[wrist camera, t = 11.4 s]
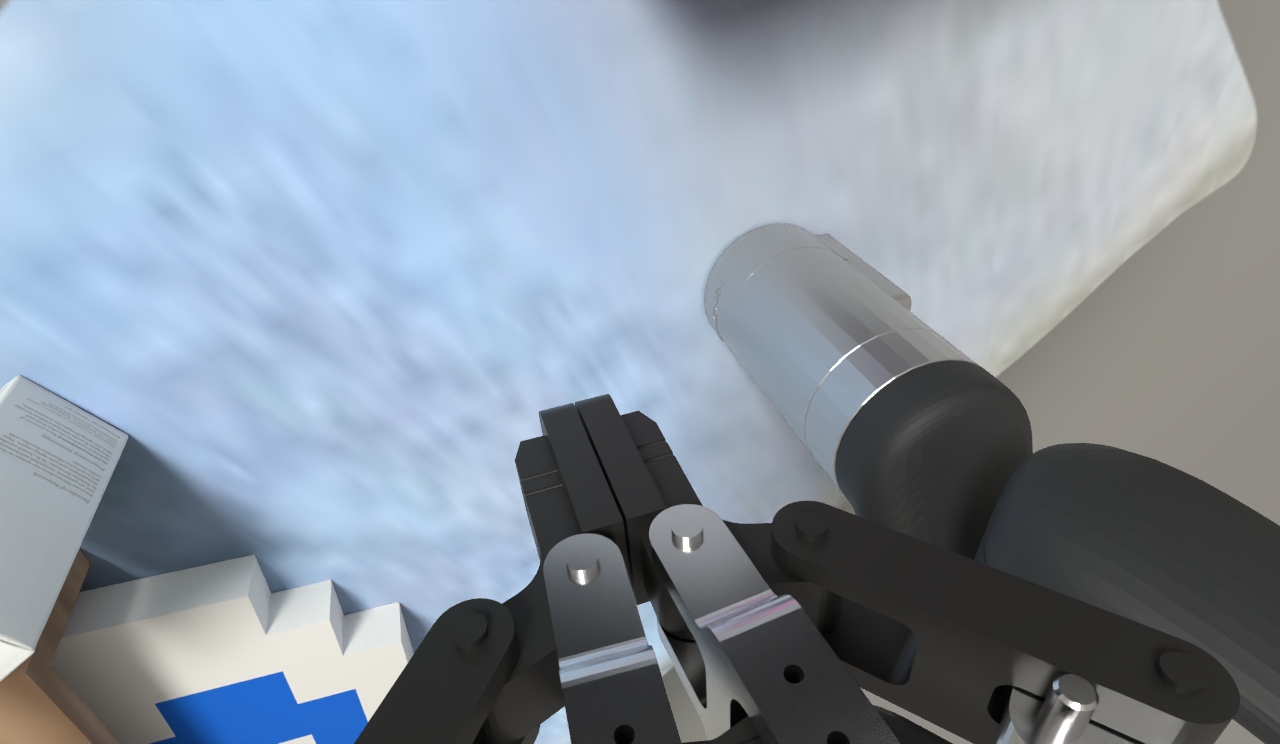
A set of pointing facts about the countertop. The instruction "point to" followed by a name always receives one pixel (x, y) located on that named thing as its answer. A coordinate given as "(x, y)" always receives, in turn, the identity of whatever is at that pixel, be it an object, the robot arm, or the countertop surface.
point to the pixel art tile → (229, 659)
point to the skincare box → (44, 504)
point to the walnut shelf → (49, 686)
